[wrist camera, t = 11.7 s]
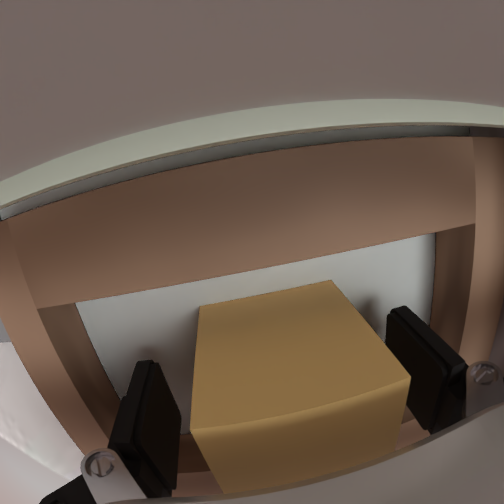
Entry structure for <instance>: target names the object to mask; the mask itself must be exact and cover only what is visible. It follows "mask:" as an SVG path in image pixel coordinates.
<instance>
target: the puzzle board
mask: <svg viewBox="0 0 504 504" xmlns="http://www.w3.org/2000/svg"><path fill="white" fill-rule="evenodd" d="M470 134H471V136H430V137H403V138H386V139H371V140H359V141H348V142H337V143H328V144H319V145H310V146H302V147H295V148H287V149H280V150H274V151H267V152H261V153H254V154H248V155H242V156H237V157H231V158H226V159H220V160H215V161H210V162H205V163H200V164H195V165H190V166H186V167H181V168H176V169H172V170H168V171H163V172H159V173H155V174H151V175H147V176H142V177H139V178H135V179H131V180H127V181H123V182H119V183H116V184H112V185H108V186H105V187H101V188H98V189H94V190H91V191H87V192H84V193H81V194H77V195H74V196H71V197H68V198H65V199H62V200H58V201H55V202H52V203H49V204H46V205H43V206H40V207H38V208H35V209H32V210H29V211H26V212H23V213H21V214H18V215H15V216H12V217H10V218H7V219H5V220H2V221H0V318H1V320H2V323H3V325H4V327H5V329H6V331H7V333H8V335H9V338H10V340H11V342H12V344H13V346H14V348H15V350H16V352H17V353H18V355H19V357H20V359H21V361H22V363H23V365H24V366H25V368H26V370H27V372H28V374H29V375H30V377H31V379H32V380H33V382H34V384H35V386H36V387H37V389H38V390H39V392H40V394H41V395H42V397H43V398H44V400H45V401H46V403H47V405H48V406H49V408H50V409H51V411H52V412H53V414H54V415H55V416H56V418H57V419H58V421H59V422H60V424H61V425H62V426H63V428H64V429H65V430H66V432H67V433H68V434H69V436H70V437H71V438H72V440H73V441H74V442H75V444H76V445H77V446H78V447H79V449H80V450H81V451H82V452H83V454H84V455H85V456H86V455H87V454H88V453H89V452H91V451H92V450H95V449H98V448H107V446H108V443H109V439H110V436H111V432H112V429H113V425H114V422H115V419H116V415H117V412H118V409H119V405H120V402H121V401H120V399H119V398H118V396H117V394H116V392H115V390H114V388H113V386H112V385H111V383H110V381H109V379H108V377H107V375H106V373H105V371H104V369H103V367H102V365H101V363H100V361H99V359H98V357H97V354H96V352H95V350H94V348H93V346H92V344H91V341H90V339H89V337H88V335H87V332H86V330H85V328H84V325H83V323H82V320H81V318H80V315H79V313H78V310H77V308H76V305H75V303H76V302H82V301H87V300H93V299H99V298H105V297H111V296H116V295H122V294H128V293H133V292H139V291H145V290H150V289H156V288H161V287H167V286H172V285H178V284H183V283H188V282H194V281H199V280H204V279H210V278H215V277H220V276H225V275H231V274H236V273H241V272H246V271H251V270H256V269H262V268H267V267H272V266H277V265H282V264H287V263H292V262H297V261H302V260H307V259H312V258H316V257H321V256H326V255H331V254H336V253H341V252H346V251H350V250H355V249H360V248H365V247H369V246H374V245H379V244H383V243H388V242H393V241H397V240H402V239H406V238H411V237H416V236H420V235H425V234H429V233H434V232H436V258H435V277H434V290H433V301H432V311H431V320H430V328H431V329H432V330H433V331H434V332H435V333H436V334H437V335H439V336H440V337H441V338H442V339H443V340H444V341H445V342H446V343H447V344H448V345H449V346H450V347H451V348H452V349H453V350H454V351H455V352H457V353H458V354H459V355H460V356H461V357H462V358H463V359H464V360H465V361H466V362H465V363H466V364H467V365H468V366H470V365H471V364H473V363H475V362H478V361H489V362H492V363H494V364H496V365H497V366H498V367H499V368H500V369H501V371H502V374H503V377H504V128H497V127H481V126H470ZM428 436H431V435H430V433H429V432H428V430H423V429H422V427H421V426H420V424H419V423H418V421H417V420H416V419H415V417H414V416H413V414H412V413H411V411H410V410H409V408H408V407H407V405H405V410H404V414H403V418H402V423H401V427H400V431H399V435H398V438H397V442H396V446H395V449H394V451H396V450H399V449H401V448H404V447H406V446H408V445H411V444H413V443H415V442H418V441H420V440H422V439H424V438H426V437H428ZM216 494H224V493H223V491H222V489H221V488H220V486H219V484H218V482H217V481H216V479H215V477H214V475H213V473H212V472H211V470H210V468H209V466H208V464H207V462H206V460H205V459H204V457H203V455H202V453H201V451H200V449H199V447H198V445H197V443H196V441H195V439H194V437H193V435H192V434H184V435H180V443H179V457H178V472H177V487H176V489H175V490H172V497H191V496H204V495H216Z"/></svg>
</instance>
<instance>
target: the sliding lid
mask: <svg viewBox="0 0 504 504" xmlns="http://www.w3.org/2000/svg"><path fill="white" fill-rule="evenodd" d="M407 125H456V126H481V127H497V128H504V0H0V209H2V208H5V207H7V206H9V205H12V204H15V203H17V202H20V201H22V200H25V199H27V198H30V197H33V196H36V195H38V194H41V193H44V192H47V191H49V190H52V189H55V188H58V187H61V186H64V185H67V184H70V183H73V182H76V181H79V180H83V179H86V178H89V177H92V176H96V175H99V174H102V173H106V172H109V171H113V170H116V169H120V168H124V167H127V166H131V165H135V164H139V163H143V162H147V161H151V160H155V159H159V158H163V157H167V156H172V155H176V154H181V153H185V152H190V151H195V150H199V149H204V148H209V147H215V146H220V145H225V144H231V143H237V142H243V141H249V140H255V139H261V138H268V137H275V136H282V135H290V134H298V133H307V132H316V131H326V130H336V129H348V128H363V127H380V126H407Z"/></svg>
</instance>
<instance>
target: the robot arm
mask: <svg viewBox="0 0 504 504" xmlns="http://www.w3.org/2000/svg"><path fill="white" fill-rule="evenodd" d="M385 345H386V346H387V347H388V349H389V350H390V351H391V352H392V353H393V355H394V356H395V357H396V358H397V360H398V361H399V362H400V363H401V365H402V366H403V367H404V368H405V370H406V371H407V372H408V373H409V375H410V376H411V380H410V385H409V391H408V396H407V400H406V405H407V407H408V408H409V410H410V411H411V413H412V414H413V416H414V417H415V419H416V420H417V421H418V423H419V424H420V426H421V427H422V429H423V430H428V432H429V433H430V435H431V436H428V437H426V438H424V439H422V440H420V441H418V442H415V443H413V444H411V445H408V446H406V447H404V448H401V449H399V450H396V451H394V452H391V453H389V454H386V455H383V456H381V457H378V458H375V459H373V460H370V461H367V462H364V463H361V464H358V465H355V466H352V467H349V468H346V469H342V470H339V471H336V472H332V473H329V474H325V475H321V476H317V477H314V478H310V479H305V480H301V481H297V482H292V483H288V484H283V485H278V486H273V487H267V488H261V489H255V490H249V491H242V492H234V493H225V494H216V495H204V496H191V497H172V490H175V489H176V487H177V472H178V457H179V443H180V430H181V414H180V411H179V409H178V406H177V404H176V402H175V400H174V398H173V395H172V393H171V391H170V389H169V386H168V384H167V382H166V379H165V377H164V375H163V372H162V370H161V367H160V365H159V364H158V363H154V361H153V360H145V361H138V362H137V363H136V366H135V369H134V372H133V375H132V379H131V382H130V385H129V388H128V391H127V395H126V396H124V397H123V398H122V400H121V402H120V405H119V409H118V412H117V415H116V419H115V422H114V425H113V429H112V432H111V436H110V439H109V443H108V446H107V448H98V449H95V450H92V451H91V452H89V453H88V454H87V455H86V456H85V457H84V458H83V460H82V462H81V472H82V475H80V476H78V477H77V478H75V479H74V480H72V481H70V482H69V483H67V484H66V485H64V486H62V487H61V488H59V489H57V490H56V491H54V492H52V493H51V494H49V495H47V496H46V497H45V498H43V499H42V500H41V502H40V503H39V504H504V377H503V374H502V371H501V369H500V368H499V367H498V366H497V365H496V364H494V363H492V362H489V361H478V362H475V363H473V364H471V365H470V366H468V365H467V364H466V363H465V362H466V361H465V360H464V359H463V358H462V357H461V356H460V355H459V354H458V353H457V352H455V351H454V350H453V349H452V348H451V347H450V346H449V345H448V344H447V343H446V342H445V341H444V340H443V339H442V338H441V337H440V336H439V335H437V334H436V333H435V332H434V331H433V330H432V329H431V328H430V327H429V326H428V325H427V324H426V323H424V322H423V321H422V320H421V319H420V318H419V317H418V316H417V315H416V314H415V313H413V312H412V311H411V310H410V309H409V308H408V307H407V306H401V307H397V308H394V309H392V310H391V311H390V314H388V315H387V324H386V341H385Z"/></svg>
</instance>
